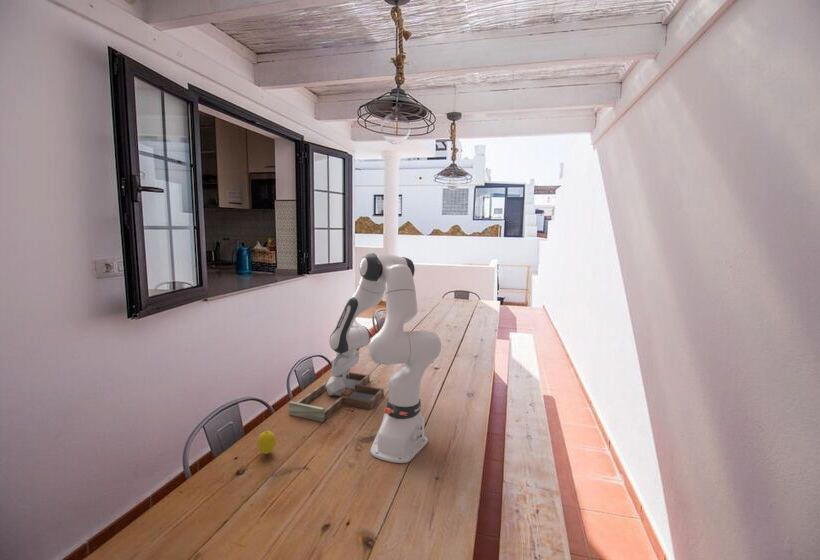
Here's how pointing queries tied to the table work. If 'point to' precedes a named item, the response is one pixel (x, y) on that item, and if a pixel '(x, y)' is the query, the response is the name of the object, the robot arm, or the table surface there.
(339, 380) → the die
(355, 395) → the side trap mat
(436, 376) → the table surface
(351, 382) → the end trap mat
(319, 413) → the box
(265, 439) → the lemon
